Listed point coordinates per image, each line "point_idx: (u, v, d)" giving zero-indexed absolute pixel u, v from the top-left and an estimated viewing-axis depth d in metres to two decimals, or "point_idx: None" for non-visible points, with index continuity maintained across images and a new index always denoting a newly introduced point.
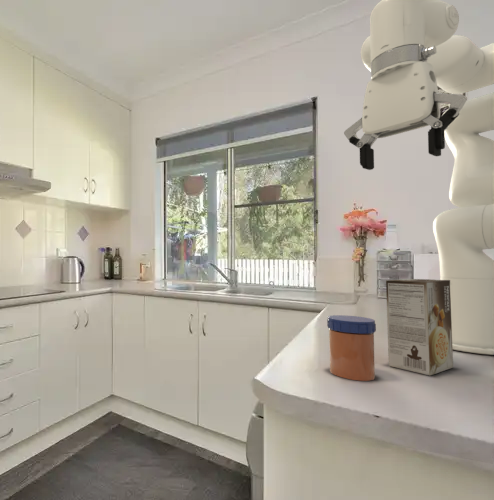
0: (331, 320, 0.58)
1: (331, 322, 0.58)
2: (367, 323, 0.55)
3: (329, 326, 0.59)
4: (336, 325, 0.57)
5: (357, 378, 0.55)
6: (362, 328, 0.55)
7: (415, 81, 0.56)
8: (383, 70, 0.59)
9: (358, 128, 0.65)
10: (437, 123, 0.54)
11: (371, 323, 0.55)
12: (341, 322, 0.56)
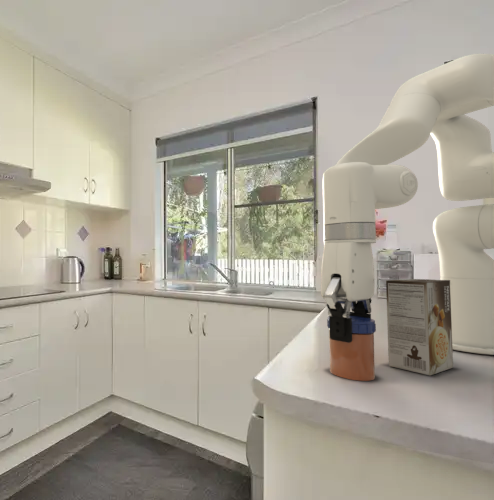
0: None
1: None
2: (367, 323, 0.55)
3: (329, 326, 0.59)
4: None
5: (357, 378, 0.55)
6: (362, 328, 0.55)
7: (372, 261, 0.58)
8: (372, 242, 0.55)
9: None
10: (369, 309, 0.60)
11: (371, 323, 0.55)
12: None
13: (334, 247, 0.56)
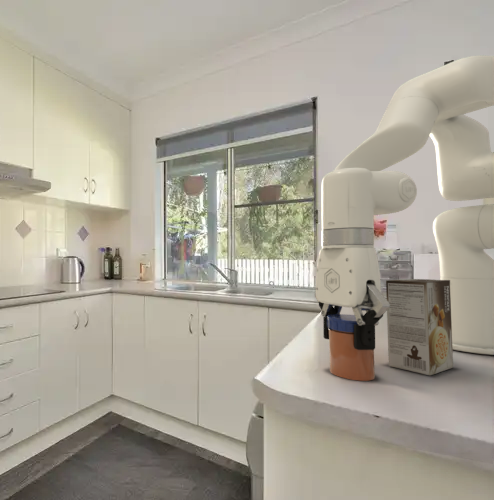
0: (352, 322, 0.55)
1: (351, 325, 0.55)
2: None
3: (348, 329, 0.55)
4: None
5: (357, 378, 0.55)
6: None
7: None
8: None
9: None
10: None
11: None
12: None
13: (366, 252, 0.54)
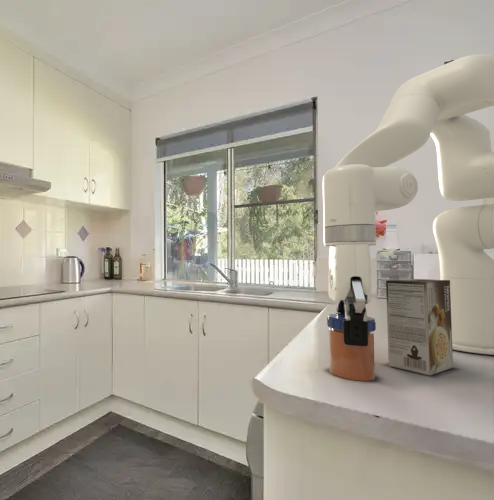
0: None
1: None
2: None
3: None
4: (370, 326, 0.55)
5: (357, 378, 0.55)
6: None
7: None
8: (375, 244, 0.56)
9: None
10: None
11: None
12: (373, 321, 0.55)
13: (352, 249, 0.54)
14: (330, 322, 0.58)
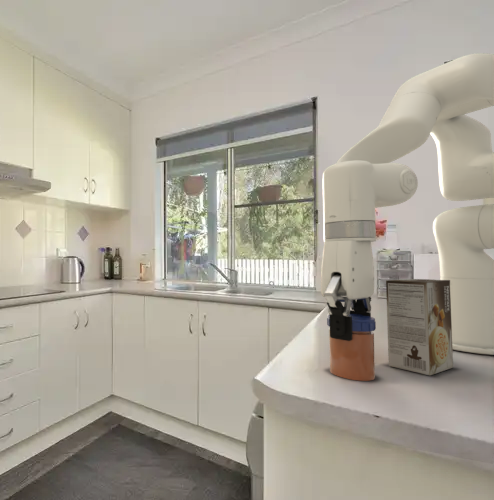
0: (373, 321, 0.55)
1: (372, 324, 0.55)
2: None
3: (371, 328, 0.55)
4: (374, 324, 0.56)
5: (357, 378, 0.55)
6: None
7: (372, 260, 0.58)
8: (372, 240, 0.55)
9: None
10: (369, 307, 0.60)
11: (352, 315, 0.61)
12: (374, 320, 0.57)
13: (334, 245, 0.56)
14: None
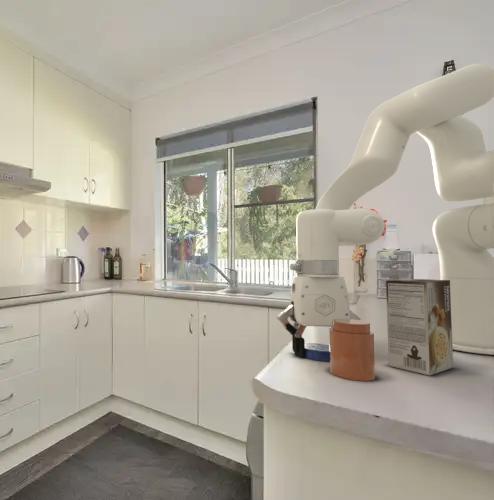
0: None
1: None
2: None
3: None
4: None
5: (357, 378, 0.55)
6: None
7: None
8: None
9: None
10: None
11: None
12: None
13: None
14: None
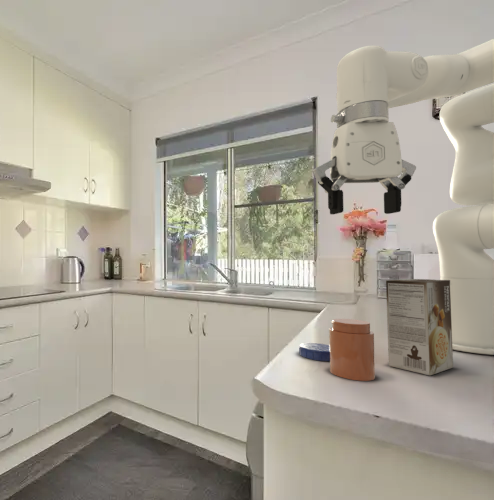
0: None
1: None
2: (301, 348, 0.69)
3: None
4: None
5: (357, 378, 0.55)
6: (300, 351, 0.69)
7: None
8: None
9: None
10: None
11: (304, 349, 0.68)
12: None
13: None
14: None
